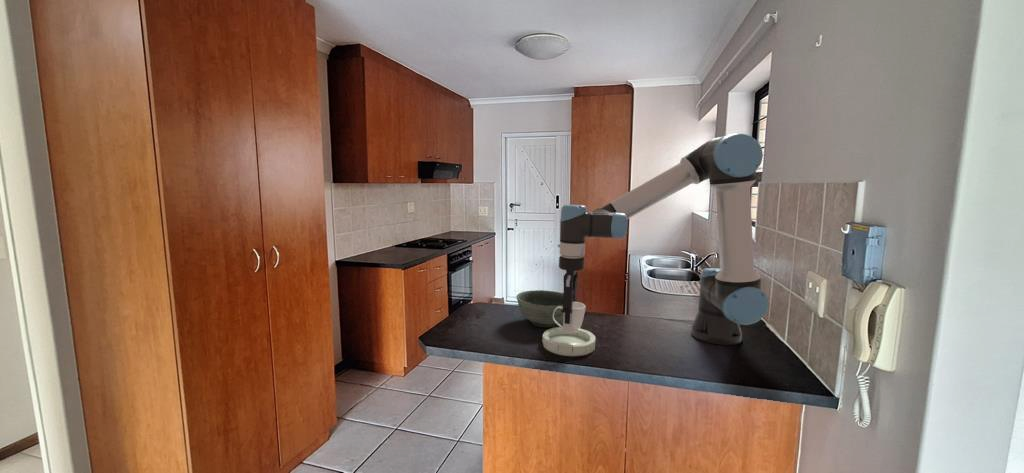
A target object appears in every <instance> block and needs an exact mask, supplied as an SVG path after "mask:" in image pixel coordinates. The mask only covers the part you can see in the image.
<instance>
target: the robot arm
mask: <svg viewBox="0 0 1024 473" xmlns="http://www.w3.org/2000/svg"><path fill="white" fill-rule="evenodd" d="M763 154H764V153H763V149H762V145H760V142H759V141H758V140H757V139H755V138H754V137H753V136H751V135H749V134H746V133H729V134H725V135H722V136H720V137H715V138H712V139H710V140H708V141H706V142H704V143H703V144H701V145H700V146H699V147H697V148H696V149H694V150H692V151H691V152H689V153H688V154H686V155H685V156H683V157H681V158H680V160H679V163H678V164H676V165H674V166H672V167H670V168H668V169H667V170H665V171H663V172H661V173H659V174H658V175H655V177H653V178H651V179H649V180H648V181H646V182H644V183H642V184H640V185H639V186H636V187H635V188H634V189H632V190H630V191H628V192H627V193H624V194H623V195H621V196H619V197H618V198H616V199H614V200H612V201H611V202H609V203H607V204H606V205H604V206H602V207H599V208H595V209H594V210H593V211H587V207H586V205H584V204H565V205H563V206H562V207H561V209H560V210H561V211H560V221H559V223H560V225H559V226H560V227H559V244H557V247H558V248H559V255H560V256H559V257H558V268H559V269H561V270H562V271H563V270H564V271H565V273H564V275H563V292H562V293H563V309H562V310H561V312H562V313H563V321H562V326H563V333H568V334H572V317H573V312H572V305H573V302H577V299H578V298H577V295H578V294H577V291H578V290H577V289H578V279H579V271H582V270H584V268H585V257H584V256H585V254H586V238H603V239H604V238H605V239H606V238H608V239H614V240H615V239H623V238H625V237H626V236H627V233H628V220H629V219H631V218H632V217H635V216H636V215H638V214H640V213H641V212H643V211H645V210H647V209H649V208H650V207H652V206H654V205H656V204H657V203H659V202H661V201H663V200H665V199H667V198H668V197H670V196H672V195H674V194H676V193H677V192H679V191H681V190H683V189H684V188H687V187H688V186H690V185H692V184H693V185H699V184H700V183H702V182H704V181H706V180H709V186H710V187H712V189H714V190H715V196H716V198H715V199H716V213H717V216H716V217H717V231H718V233H717V234H718V246H719V247H718V249H719V263H720V266H719V267H720V268H718V267H713V268H712V267H709V268H703V269H702V271H701V274H700V278H699V280H700V284H699V297H698V298H699V299H698V312H697V313H696V316H695V317H694V320H693V322H692V324H691V327H690V334H691V335H692V337H694V338H696V339H697V340H699V341H703V342H705V343H709V344H714V345H720V346H721V345H722V346H735V345H739V344H740V343H741V342H742V338H743V333H742V329H741V326H742V325H743V326H750V325H753V324H756V323H759V321H761V320H762V319H763V318H764V317H766V315H767V313H768V312H769V308H770V301H769V297H768V296H767V294H766V293H765V292H764V290H762V282H761V281H762V280H761V279H762V276H761V275H760V274H759V273H758V272H757V271H755V265H754V260H755V259H754V242H753V241H754V240H753V224H752V222H753V221H752V203H751V202H752V199H751V187H752V186H753V185H754V184H755V182H757V170H758V168H759V167H760V166H761V165H762V162H763V156H764V155H763Z"/></svg>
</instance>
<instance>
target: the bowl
mask: <svg viewBox="0 0 1024 473" xmlns="http://www.w3.org/2000/svg"><path fill="white" fill-rule="evenodd" d="M563 293H564V292H559V291H553V290H544V289H543V290H541V289H539V290H526V291H522V292H521V291H520V292H519V293H517V294H516V296H515V297H516V301H517V303H518V308H519V310H520V312H521V314H522V315H523V317H524V318H525V319H527V320H528V321H530V323H531V324H532V325H533V326H537V327H540V328H551V327H552V328H554V327H556V326H558V325H557V324H556V323H555V322H554V320H553V312H554V310H555V308H556V307H559V306H562V307H563ZM561 310H562V309H560V308H558V309H556V310H555V312H554V319H555V320H556V321H557V322H558V323H560V322H563V313H562V312H561Z"/></svg>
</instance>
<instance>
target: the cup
mask: <svg viewBox="0 0 1024 473" xmlns="http://www.w3.org/2000/svg"><path fill="white" fill-rule="evenodd" d="M558 308H560V309H563V307H562V306H559V307H556V308H555V310H556V309H558ZM586 308H587V306H586V305H585V304H584V303H583V302H579V301H576V302H573V305H572V312H573V317H572V333H573V332H579V331H580V329H579V328H581V327H582V325H583V321H584V318H585V316H584V315H585V313H586ZM555 310H554V312H555ZM554 312H553V320H554V322H555V323H556V324H557V325H556V326H557V327H561V328H563V325H561V323H560V322H557V321H556V320H555V319H554Z"/></svg>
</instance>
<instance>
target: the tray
mask: <svg viewBox="0 0 1024 473" xmlns="http://www.w3.org/2000/svg"><path fill="white" fill-rule="evenodd" d="M579 329H580V331H579V332H573V333H572V334H568V333H563V328H561V327H560V326H553V327H552V328H551V327H550V328H549V329H547V330H545V331H544V332H543V334H542V345H543V348H544V349H545V350H547V351H548V352H550V353H551V354H552V353H553V354H555V355H559V356H562V357H563V356H564V357H581V356H587V355H589V354H591V353H593V352H594V351H595V349H596V337H597V336H595V334H593V333H592V332H591V331H589V330H587V329H583V328H581V327H580V328H579Z"/></svg>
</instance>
